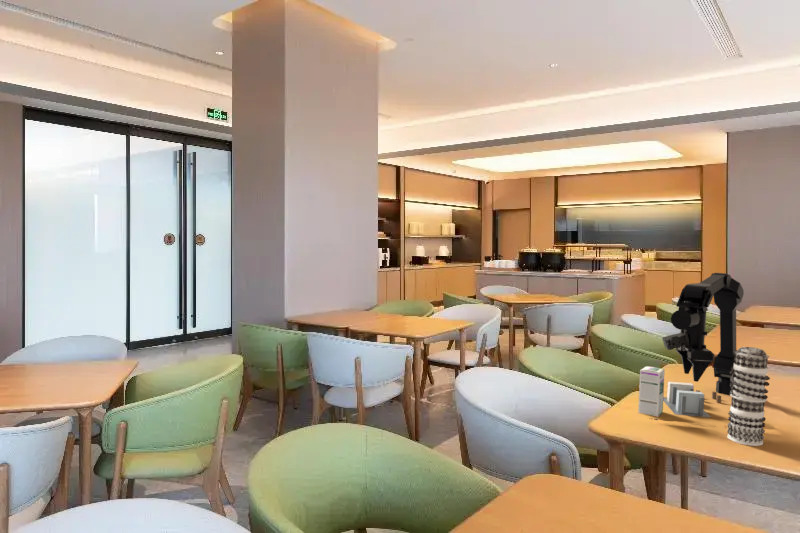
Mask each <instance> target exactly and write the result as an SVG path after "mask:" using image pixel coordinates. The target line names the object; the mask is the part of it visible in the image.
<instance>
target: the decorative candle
mask: <svg viewBox="0 0 800 533" xmlns="http://www.w3.org/2000/svg"><path fill="white" fill-rule="evenodd" d="M734 353H735V361H734V365H733V367H731V369H732V370H731V371H730V374H731V375H732V376H733V377H731V378H730V381H731V382H732V383H730V387H731V388H732V390H731V391H730V395H729V396H730V397H731V405H730V409H729V411H728V413H727V414H728V415H729V417H728V418H727V420H728V421H729V422H728V423H727V426H726V427H727V432H726V433H728V434H727V436H726V437H727V439H728V440H730V441H732V442H734V443H737V444H740V445H744V446H751V447H759V446H762V445H764V439H765V436H764V435H765V431H766V430H765V429H764V427H765V426H766V423H765V422H766V419H767V418H766V417H765V409H764V408H765V402H767V400H768V398H769V397H768V395H766V394H768V393H769V390H768V389H766V387H769V386H770V383H769V382H768V381H770V379H771V377H769V376H768V375H767V374H768V372H769V371H768V370H769V369H768V361H769V360H768V359H769V358H770V356H769V355H768V354H767V352H766V351H765V350H763V349H761V348H757V347H753V346H751V347H750V346H742V347H739V348H738V349H737V351H736V352H734ZM733 372H734V374H733ZM733 379H734V380H733Z"/></svg>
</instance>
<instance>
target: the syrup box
mask: <svg viewBox="0 0 800 533" xmlns="http://www.w3.org/2000/svg"><path fill="white" fill-rule="evenodd" d="M665 370H666V369H664V368H660V367H656V366H644V367H643V368H641V369H640V370H639V389H638V393H639V394H638V409H637V410H638V413H640V414H644V415H647V416H652V417H657V418H653V419H654V420H653V421H659V416H661V415H662V414H663V411H664V401H663V397H664V392H665ZM649 420H652V418H650V417H649Z"/></svg>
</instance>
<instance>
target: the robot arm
mask: <svg viewBox="0 0 800 533" xmlns="http://www.w3.org/2000/svg"><path fill="white" fill-rule="evenodd" d="M743 297H744V288H743V286H742V285H741V282H739V281H738V280H736V279H734V278H733V277H732V276H731V274H728V273H724V272H714V273H713V272H712V273H711V275H710V276H709V277H707V278H705V279H704V280H702V281H700V282H698V283H695V282H693V283H687V284H685V286H684V287H683V288H682V290H681V292H680V294H679V298H678V300H677V303H676V307H677V308H678V309H677V310H676V311H674V312H673V313H672V314H671V316H670V321H671V322H670V323H671V324H672V326H673V327H674V328H675V329H677V330H680V332H679V333H673V334H669V335H667V336H663V337H661V339H662V342H663V345H664V348H665V349H666V350H668V351H672V350H675V351H676V352H677V353H678V354H679V355H680V358H681V363H682V368H683V372H684V374H686V375H688V374H690V371H691V370H692V377H693V382H699V381H700V379H701V378H702V376H703V374H704V373H705V372H706V371H707V369H708V367H709V365H710V364H712V363H713V376H714V378H718V379H717V380H716V382H715V392H717V394H721V395H725V396H726V395H727V396H730V391H731V390H732V388H731V387H730V383H732V382H731V381H730V378H731V377H733V376H732V375H731V374H730V371H731V370H732V369H731V367H733V365H734V361H735V353H734V352H736V351H738V349H737V308H738V307H739V305H740V304H741V303H742V300H743ZM712 301H713V303H714V304H715V306H716V307H717V308H718V309H719V340H720V341H719V342H720V343H719V345H720V346H719V347H720V348H719V352H718V354H716V356H715V353H714V352H712V351H711V350H710V349H708V348H707V345H706V344H705V337H706V336H707V335H708V331H706V325H707V323H706V321H707V311H708V308H709V306H710V305H711V302H712ZM733 374H734V372H733ZM733 380H734V379H733Z"/></svg>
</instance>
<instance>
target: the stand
mask: <svg viewBox="0 0 800 533" xmlns="http://www.w3.org/2000/svg"><path fill="white" fill-rule="evenodd" d="M695 392H701V390H697V389H696V391H695ZM711 399H712V400H716V402H715V403H717V404H721V403H722V396H721V395H718V393H717V392H716V391H712V392H711Z"/></svg>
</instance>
